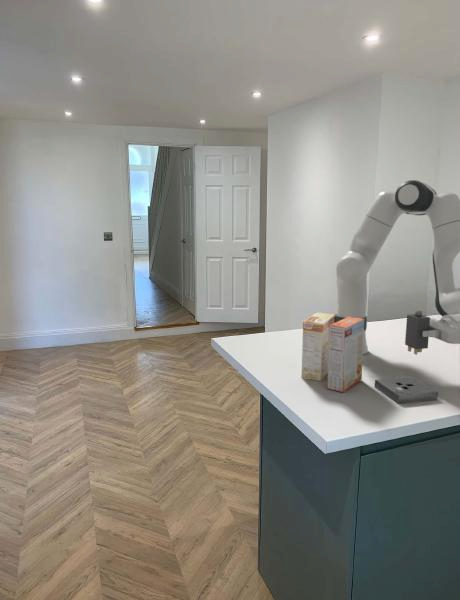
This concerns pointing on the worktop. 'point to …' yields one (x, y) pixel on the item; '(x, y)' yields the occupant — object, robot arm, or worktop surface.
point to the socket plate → (406, 390)
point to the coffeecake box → (316, 346)
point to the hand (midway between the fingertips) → (414, 330)
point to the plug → (416, 331)
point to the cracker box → (345, 353)
